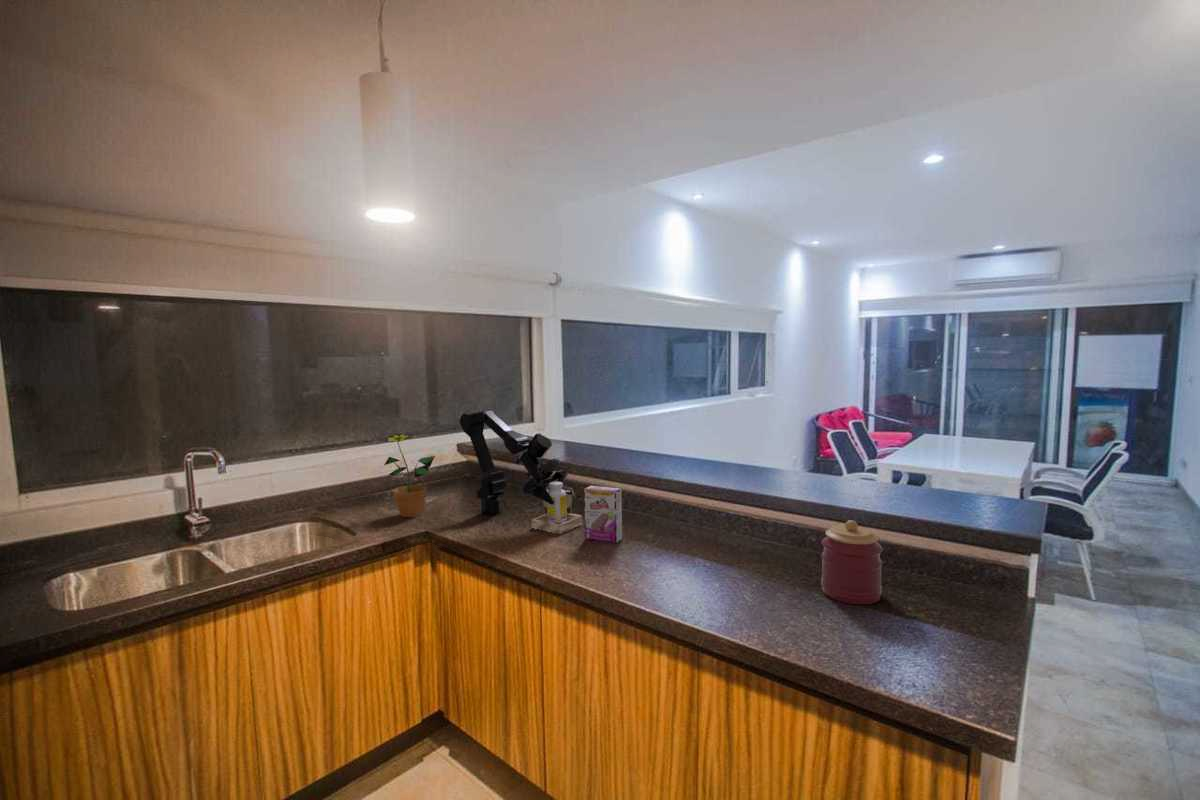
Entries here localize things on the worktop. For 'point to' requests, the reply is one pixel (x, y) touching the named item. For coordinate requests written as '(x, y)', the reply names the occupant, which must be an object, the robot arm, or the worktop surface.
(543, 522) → the box
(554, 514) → the supplement bottle
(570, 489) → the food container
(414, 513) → the potted plant
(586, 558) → the worktop surface
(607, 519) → the candy bar box
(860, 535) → the canister
